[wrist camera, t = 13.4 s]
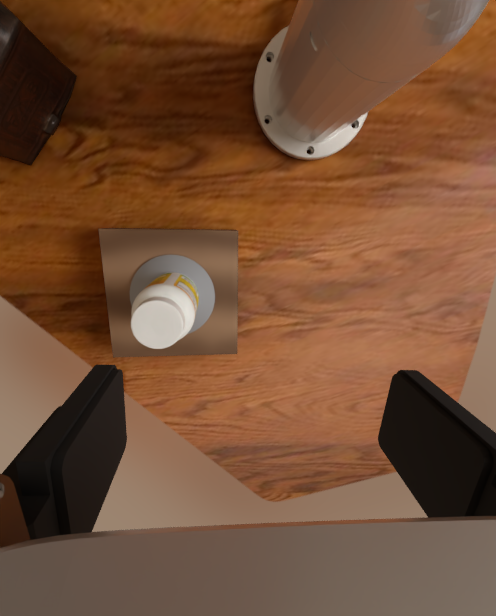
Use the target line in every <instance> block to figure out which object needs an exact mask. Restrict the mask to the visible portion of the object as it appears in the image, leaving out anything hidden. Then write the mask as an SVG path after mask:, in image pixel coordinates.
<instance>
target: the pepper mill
mask: <svg viewBox="0 0 496 616" xmlns="http://www.w3.org/2000/svg"><path fill="white" fill-rule="evenodd" d="M76 77H77V76H76V75H75V74H74V73H73V72H72V71H71V70H70V69H68V68H67V67H66V66H65V65H64V64H63V63H62V62H61V61H60V60H58V59H57V58H56V57H55V56H54V55H53V54H52V53H51V52H50V51H49V50H48V49H47V48H46V47H45V46H44V45H43V44H42V43H41V42H40V41H39V40H38V39H37V38H36V37H35V36H34V35H33V34H32V33H31V32H30V30H29V29H28V28H27V27H26V26H25V25H24V24H23V23H22V22H21V21H20V20H19V19H18V18H17V17H16V16H15V15H14V14H13V13H12V12H11V11H10V10H9V9H8V8H7V7H6V6H5V5H4V4H3V3H2V2H1V1H0V156H4V157H7V158H10V159H14V160H17V161H20V162H23V163H26V164H29V165H31V164H32V163H33V161H34V160H35V158H36V157H37V155H38V154H39V152H40V151H41V149H42V148H43V146H44V145H45V143H46V142H47V140H48V139H49V138H50V136H51V135H53V134H54V132H55V131H56V129H57V127H58V125H59V123H60V121H61V115H62V113H63V111H64V109H65V107H66V105H67V103H68V101H69V99H70V97H71V93H72V90H73V87H74V84H75V81H76Z"/></svg>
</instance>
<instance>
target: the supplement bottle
mask: <svg viewBox="0 0 496 616" xmlns="http://www.w3.org/2000/svg"><path fill="white" fill-rule="evenodd" d="M198 302H199V293H198V290H197V287H196V285H195V284H194V282H193V281H192V280H191V279H190V278H188V277H187V276H185V275H183V274H180V273H175V272H170V273H165V274H162V275H160V276H159V277H157V278H156V279H155V280H154V281H152V282H151V283H150V284H149V285H148V286H147V287H146V288H145V289H143V290H142V291H141V292H140V293H139V294H138V296H137V297H136V298H135V300H134V302H133V305H132V311H131V315H132V318H131V329H132V332H133V335H134V337H135V338H136V339H137V340H138V341H139V342H140V343H141V344H143V345H144V346H146V347H149V348H153V349H163V348H167V347H169V346H171V345H173V344H174V343H176V342H177V341H178V340H180V339H182V338H183V337H184V336H185V335H187V333H188V332H189V331H190V330H191V328H192V326H193V323H194V320H195V316H196V311H197V307H198Z"/></svg>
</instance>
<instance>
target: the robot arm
mask: <svg viewBox="0 0 496 616" xmlns="http://www.w3.org/2000/svg"><path fill="white" fill-rule="evenodd" d="M488 1H489V0H298V3H297V6H296V8H295V11H294V14H293V17H292V19H291V22H290V25H288V26H287V27H285V28H283V29H282V30H281V31H280V32H279V33H277V34H276V35H275V36H274V37H273V38H272V40H271V41H270V42H269V44H268V45H267V47H266V48H265V49H264V52H263V54H262V56H261V58H260V60H259V63H258V66H257V69H256V73H255V79H254V84H253V101H254V108H255V113H256V116H257V119H258V122H259V125H260V127H261V128H262V130H263V132H264V134H265V135H266V137H267V138H268V139H269V141H270V142H271V143H272V144H273V145H274V146H275V147H276V148H278V149H279V150H280V151H281V152H283V153H285V154H287V155H289V156H291V157H294V158H297V159H302V160H317V159H322V158H325V157H328V156H331V155H332V154H334V153H336V152H338V151H339V150H341V149H342V148H344V147H345V146H346V145H348V144H349V142H350V141H351V140H352V139H353V138H354V137H355V136H356V135H357V133H358V132H359V130H360V129H361V127H362V125H363V123H364V121H365V119H366V117H367V114H368V111H370V110H371V109H372V108H374V107H375V106H376V105H378V104H379V103H380V102H382V101H383V100H385V99H386V98H387V97H389V96H390V95H391V94H393V93H394V92H396V91H397V90H398V89H400V88H401V87H402V86H404V85H405V84H406V83H408V82H409V81H411V80H412V79H413V78H415V77H416V76H417V75H419V74H420V73H421V72H423V71H424V70H426V69H427V68H428V67H430V66H431V65H432V64H433V63H435V62H436V61H437V60H439V59H440V58H441V57H443V56H444V55H445V54H446V53H447V52H448V51H450V50H451V49H452V48H453V47H454V46H455V45H456V44H457V43H458V42H459V41H460V40H461V39H462V38H463V37H464V35H465V34H466V33H467V32H468V31H469V30H470V28H471V27H472V26H473V25H474V23H475V22H476V20H477V19H478V17H479V16H480V14H481V13H482V11H483V10H484V8H485V7H486V5H487V3H488ZM267 59H270V61H271V62H268V61H267ZM265 120H268V121H269V124H266V123H265ZM351 124H352V125H353V126H354V128H352V126H351ZM307 150H309V151H310V154H307ZM124 405H125V404H124V388H123V373H122V370H118V369H117V368H116V366H115V365H95V366H94V367H93V369H92V370H91V371H90V372H89V374H88V375H87V376H86V377H85V378H84V380H83V381H82V382H81V383H80V384H79V386H78V387H77V388H76V389H75V391H74V392H73V393H72V394H71V395H70V397H69V398H68V399H67V400H66V401H65V403H64V404H63V405H62V406H60V407H58V408H57V409H56V410H55V411H54V412H53V413H52V414H51V416H50V417H49V418H48V419H47V421H46V422H45V423H44V424H43V425H42V427H41V428H40V429H39V430H38V431H37V432H36V434H35V435H34V436H33V437H32V438H31V440H30V441H29V442H28V443H27V444H26V446H25V447H24V448H23V449H22V450H21V451H20V453H19V454H18V455H17V456H16V457H15V459H14V460H13V461H12V462H11V463H10V465H9V466H8V467H7V468H6V469H5V470H4V472H3V473H2V474H0V616H496V433H495V432H494V431H492V430H491V429H490V428H489V427H487V426H486V425H485V424H483V423H482V422H481V421H480V420H478V419H477V418H476V417H475V416H474V415H472V414H471V413H470V412H469V411H467V410H466V409H465V408H464V407H462V406H461V405H460V404H459V403H457V402H456V401H455V400H454V399H452V398H451V397H450V396H449V395H447V394H446V393H445V392H444V391H442V390H441V389H440V388H439V387H437V386H436V385H435V384H434V383H432V382H431V381H430V380H429V379H427V378H426V377H425V376H424V375H422V374H421V373H420V372H418V371H416V370H400V371H398V372H397V374H395V375H394V376H393V377H392V381H391V385H390V389H389V393H388V398H387V402H386V406H385V410H384V414H383V419H382V423H381V427H380V431H379V435H378V441H379V445H380V447H381V449H382V450H383V452H384V453H385V455H386V456H387V458H388V459H389V460H390V462H391V463H392V465H393V466H394V468H395V469H396V471H397V472H398V474H399V475H400V476H401V478H402V479H403V481H404V482H405V484H406V485H407V487H408V488H409V490H410V491H411V493H412V494H413V495H414V497H415V499H416V500H417V501H418V503H419V504H420V506H421V507H422V509H423V510H424V512H425V513H426V514H427V516H428V518H399V519H369V520H343V521H342V520H341V521H314V522H287V523H263V524H262V523H261V524H240V525H239V524H237V525H214V526H191V527H168V528H150V529H134V530H133V529H132V530H115V531H101V532H92V530H93V527H94V524H95V522H96V520H97V517H98V515H99V512H100V510H101V507H102V504H103V502H104V500H105V497H106V495H107V492H108V490H109V487H110V485H111V482H112V480H113V478H114V475H115V472H116V470H117V468H118V465H119V463H120V460H121V458H122V455H123V453H124V450H125V446H126V440H127V436H126V421H125V406H124Z"/></svg>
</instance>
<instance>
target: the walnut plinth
mask: <svg viewBox="0 0 496 616" xmlns="http://www.w3.org/2000/svg"><path fill="white" fill-rule="evenodd" d="M98 230H99V239H100V247H101V256H102V265H103V273H104V282H105V291H106V299H107V308H108V317H109V325H110V334H111V343H112V351H113V357H142V356H178V355H214V354H237V317H238V231H237V230H205V229H138V228H104V229H98ZM170 272H175V273H180V274H183V275H185V276H187V277H188V278H190V279H191V280H192V281H193V282H194V284H195V285H196V287H197V290H198V293H199V302H198V307H197V311H196V316H195V320H194V323H193V326H192V328H191V330H190V331H189V332H188V333H187V335H185V336H184V337H183V338H182V339H180V340H178V341H177V342H176V343H174V344H173V345H171V346H169V347H167V348H163V349H153V348H149V347H146V346H144V345H143V344H141V343H140V342H139V341H138V340H137V339H136V338H135V337H134V335H133V332H132V329H131V318H132V315H131V311H132V305H133V302H134V300H135V298H136V297H137V296H138V294H139V293H140V292H141V291H142V290H143V289H145V288H146V287H147V286H148V285H149V284H150V283H151V282H152V281H154V280H155V279H156V278H157V277H159V276H160V275H162V274H165V273H170Z"/></svg>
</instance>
